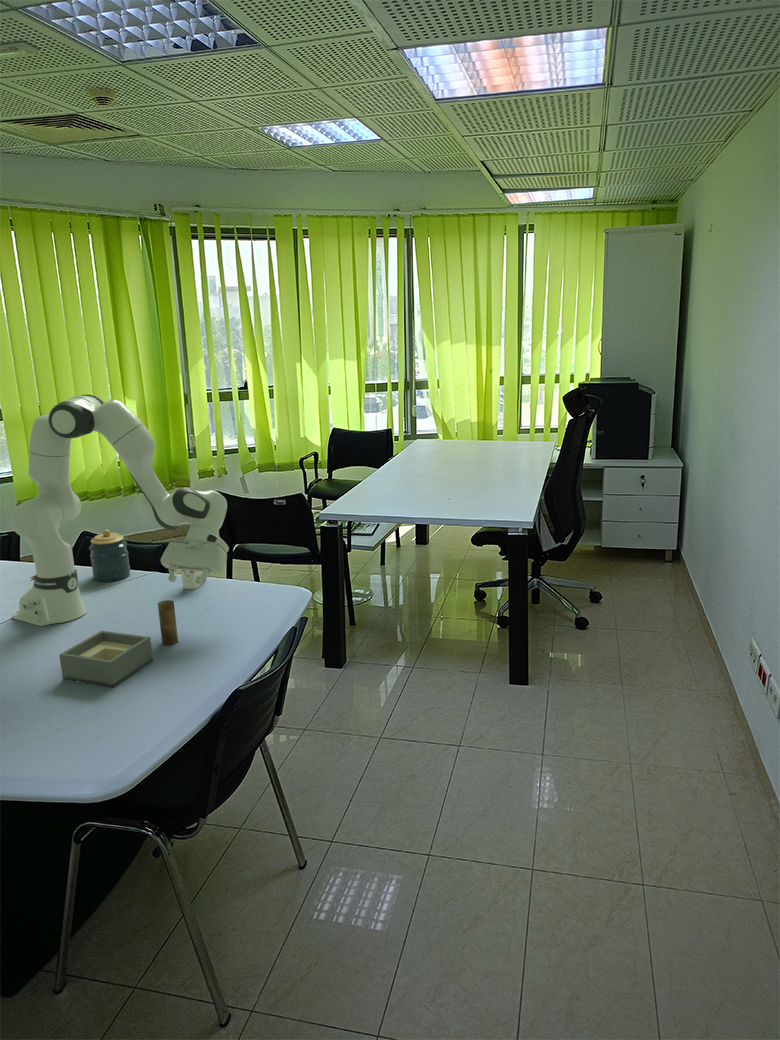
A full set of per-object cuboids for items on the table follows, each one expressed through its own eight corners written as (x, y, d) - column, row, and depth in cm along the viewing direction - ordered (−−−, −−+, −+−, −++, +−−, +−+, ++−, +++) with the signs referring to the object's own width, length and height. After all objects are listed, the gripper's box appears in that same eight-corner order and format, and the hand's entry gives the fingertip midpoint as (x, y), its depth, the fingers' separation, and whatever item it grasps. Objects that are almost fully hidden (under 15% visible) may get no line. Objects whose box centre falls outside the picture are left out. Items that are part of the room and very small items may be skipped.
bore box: (63, 679, 196) (59, 654, 194) (104, 653, 211) (101, 630, 209) (113, 687, 191) (110, 662, 189) (153, 661, 205) (150, 637, 203)
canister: (86, 581, 270) (79, 534, 266) (104, 570, 283) (98, 524, 278) (120, 582, 268) (114, 535, 264) (137, 570, 281) (131, 525, 276)
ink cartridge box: (193, 580, 269) (189, 540, 265) (206, 581, 268) (202, 541, 264) (182, 588, 261) (178, 548, 257) (195, 589, 260) (191, 548, 256)
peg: (158, 644, 216) (154, 604, 213) (168, 638, 220) (163, 599, 217) (172, 646, 214) (167, 606, 211) (181, 640, 218) (177, 601, 215)
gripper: (166, 533, 229) (149, 574, 223) (224, 538, 223) (209, 580, 216) (176, 543, 235) (160, 583, 228) (233, 548, 228) (219, 590, 221)
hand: (184, 582), depth 222 cm, fingers open, 8 cm apart
